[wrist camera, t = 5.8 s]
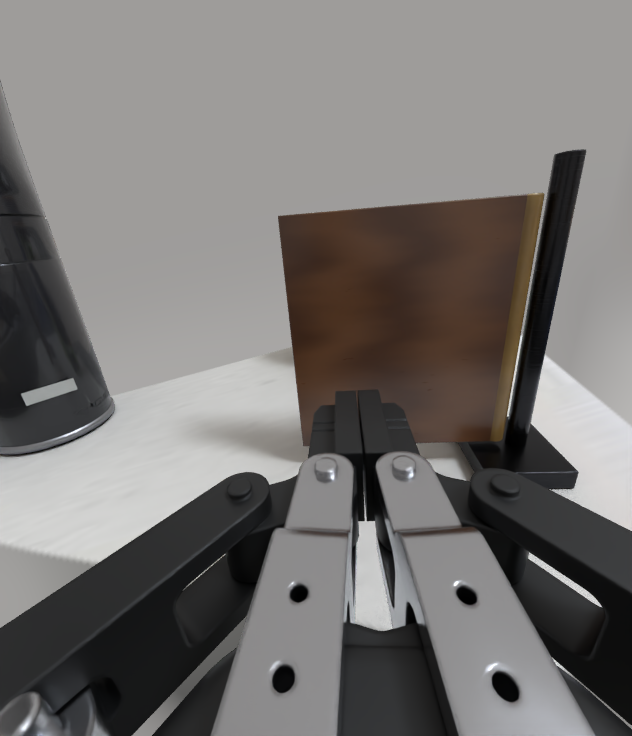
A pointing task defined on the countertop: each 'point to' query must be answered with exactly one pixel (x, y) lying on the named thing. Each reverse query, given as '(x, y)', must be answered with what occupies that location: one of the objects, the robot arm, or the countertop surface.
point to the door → (412, 309)
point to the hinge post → (537, 345)
